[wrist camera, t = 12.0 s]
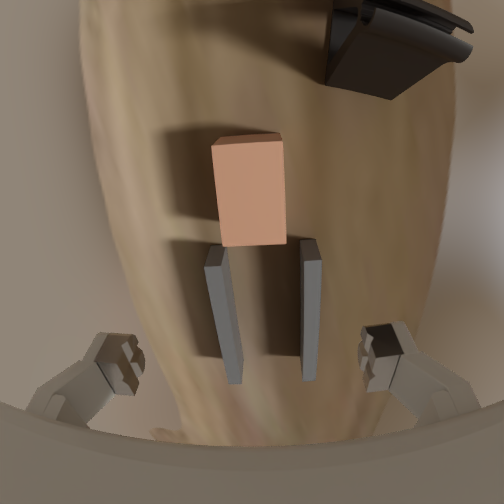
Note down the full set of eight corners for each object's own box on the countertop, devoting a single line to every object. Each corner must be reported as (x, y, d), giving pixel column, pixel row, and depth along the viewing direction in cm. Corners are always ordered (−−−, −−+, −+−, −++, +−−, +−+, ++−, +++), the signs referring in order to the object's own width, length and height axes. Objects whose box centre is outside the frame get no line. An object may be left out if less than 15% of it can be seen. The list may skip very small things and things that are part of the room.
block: (283, 219, 29) (286, 243, 25) (229, 222, 29) (222, 246, 25) (279, 132, 25) (282, 141, 21) (220, 136, 26) (211, 145, 21)
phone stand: (334, -7, 19) (378, -64, 8) (399, 11, 19) (473, -23, 8) (323, 85, 23) (368, 79, 12) (389, 100, 23) (466, 112, 13)
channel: (312, 356, 37) (315, 380, 34) (231, 359, 38) (228, 384, 34) (315, 239, 30) (321, 259, 26) (210, 245, 30) (203, 266, 27)
